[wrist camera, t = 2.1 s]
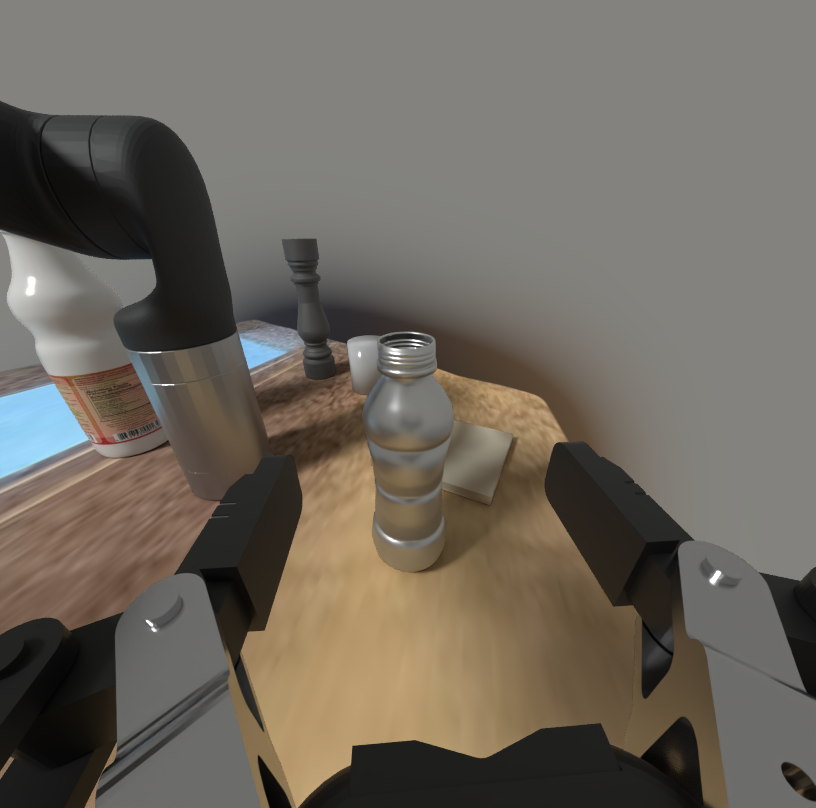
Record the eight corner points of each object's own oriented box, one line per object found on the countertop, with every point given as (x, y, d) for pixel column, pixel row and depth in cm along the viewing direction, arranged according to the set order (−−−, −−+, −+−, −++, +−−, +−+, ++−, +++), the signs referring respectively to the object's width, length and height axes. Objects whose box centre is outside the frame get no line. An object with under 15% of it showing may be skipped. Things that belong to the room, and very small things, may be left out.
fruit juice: (78, 459, 41) (-87, 211, 28) (136, 421, 50) (30, 216, 36) (146, 460, 41) (11, 209, 27) (193, 422, 49) (107, 215, 35)
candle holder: (305, 381, 62) (278, 239, 50) (305, 369, 67) (281, 239, 55) (337, 377, 64) (318, 238, 51) (334, 366, 69) (317, 238, 57)
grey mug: (344, 390, 58) (339, 344, 54) (365, 377, 64) (361, 333, 59) (382, 399, 55) (379, 350, 51) (401, 384, 60) (399, 339, 56)
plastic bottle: (408, 509, 33) (405, 320, 23) (459, 550, 29) (481, 339, 19) (359, 547, 29) (331, 340, 19) (410, 601, 25) (406, 368, 15)
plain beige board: (371, 465, 39) (371, 458, 39) (415, 417, 49) (415, 410, 49) (490, 505, 33) (491, 497, 33) (512, 441, 44) (513, 434, 43)
